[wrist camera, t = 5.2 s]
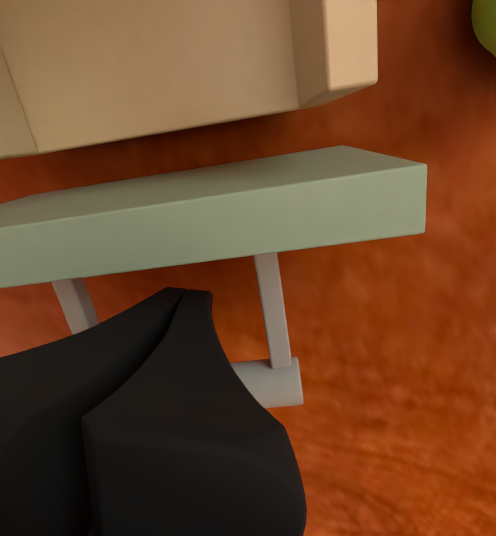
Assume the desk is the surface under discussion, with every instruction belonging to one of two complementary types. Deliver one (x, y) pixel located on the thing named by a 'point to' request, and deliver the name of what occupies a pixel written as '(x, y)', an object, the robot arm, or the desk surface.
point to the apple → (485, 23)
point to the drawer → (185, 117)
